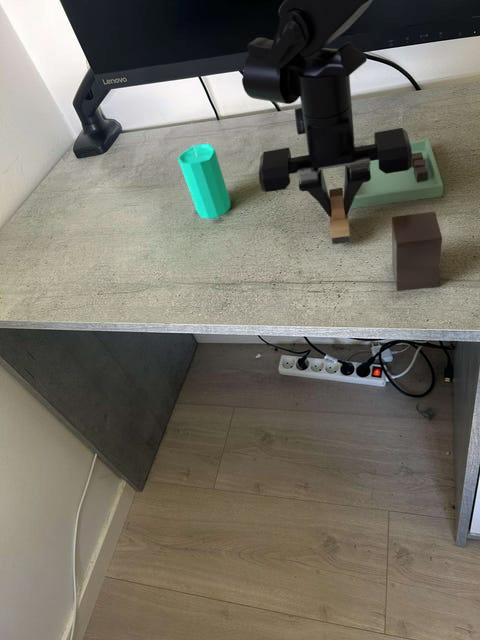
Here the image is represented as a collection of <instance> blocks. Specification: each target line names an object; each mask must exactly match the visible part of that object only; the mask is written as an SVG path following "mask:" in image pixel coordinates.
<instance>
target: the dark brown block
mask: <svg viewBox="0 0 480 640" xmlns="http://www.w3.org/2000/svg"><path fill="white" fill-rule="evenodd" d="M442 246H443V236H442V231H441V228H440V225H439V222H438V219H437V213H436V211H428V212H427V211H426V212H420V213H411V214H404V215H397V216H396V215H395V216H391V253H392V254H391V255H392V256H391V265H392V266H391V267H392V273H393V277H394V283H395V289H396V291H397V292H399V291H400V292H401V291H409V290H410V291H411V290H419V289H420V290H421V289H431V288H438V287H439V283H440V269H441V257H442V248H443V247H442Z"/></svg>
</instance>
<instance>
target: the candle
mask: <svg viewBox="0 0 480 640" xmlns="http://www.w3.org/2000/svg"><path fill="white" fill-rule="evenodd" d="M177 161H178V164H179V166H180V169H181V172H182V174H183V177H184V180H185V183H186V185H187V188H188V190H189V194H190V197H191V199H192V202H193V204H194V207H195V209H196V213H197V214H198V215H199V217H200V218H201V219H207V220H210V219H215V218H219V217H221V216H223V215H224V214H226V213H227V212H228V211H229V210H230V208H231V204H232V203H231V202H232V201H231V198H230V196H229V191H228V189H227V185H226V182H225V179H224V176H223V172H222V169H221V165H220V162H219V160H218V155H217V152H216V149H215V147H213V145H212V144H211V143H200V144H192V146H190V147H189V148H187V149H186V150H184V151H183V152H182V153H180V154H179V155H178V157H177Z"/></svg>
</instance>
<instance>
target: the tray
mask: <svg viewBox="0 0 480 640" xmlns="http://www.w3.org/2000/svg"><path fill="white" fill-rule="evenodd" d="M410 145H411V149H412V154H413V153H419V152H422V155H423V159H425V166H426V168H427V170H428V180H427V181H422V182H417V181H416V179H415V174H414V168H412V167H411V168H410V169H409V170H407V171H400V172H394V173H387V174H385V173H384V172H382V171H381V170H379V164H378V160H374V161H370V163H371V165H369V166H370V173H371V180H370V181H368V182H364V183H363V184H362V185H361V187H360V189H359V190H358V192H357V194H356V195H355V198H354V200H353V202H352V205H351V208H350V210H353V209H360V208H367V207H374V206H375V207H376V206H383V205H388V204H396V203H403V202H411V201H419V200H425V199H432V198H440V197H443V195H444V182H443V180H442V176H441V174H440V170H439V168H438V165H437V161H436V158H435V155H434V152H433V148H432V145H431V141H430V139H429V138H426V139H421V140H420V139H419V140H414V141H410Z"/></svg>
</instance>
